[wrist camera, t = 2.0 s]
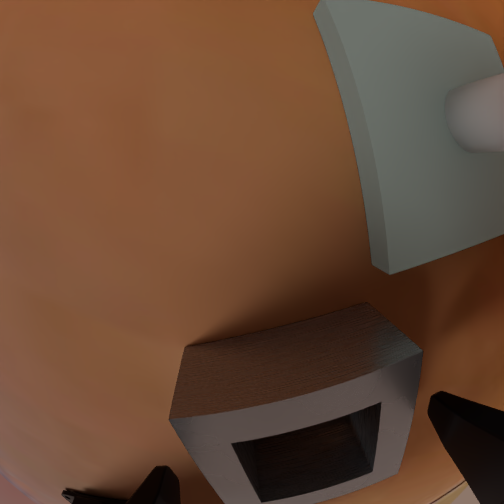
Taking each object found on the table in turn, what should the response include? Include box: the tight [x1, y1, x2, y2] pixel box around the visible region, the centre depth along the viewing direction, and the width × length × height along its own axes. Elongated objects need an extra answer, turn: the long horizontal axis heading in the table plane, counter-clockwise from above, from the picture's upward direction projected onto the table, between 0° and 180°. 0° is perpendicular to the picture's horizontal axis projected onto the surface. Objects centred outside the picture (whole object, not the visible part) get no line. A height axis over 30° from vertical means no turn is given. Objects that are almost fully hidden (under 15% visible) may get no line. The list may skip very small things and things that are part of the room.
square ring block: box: [169, 302, 423, 504], centre depth 8 cm, size 6×6×4 cm
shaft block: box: [313, 0, 504, 275], centre depth 5 cm, size 9×9×6 cm
